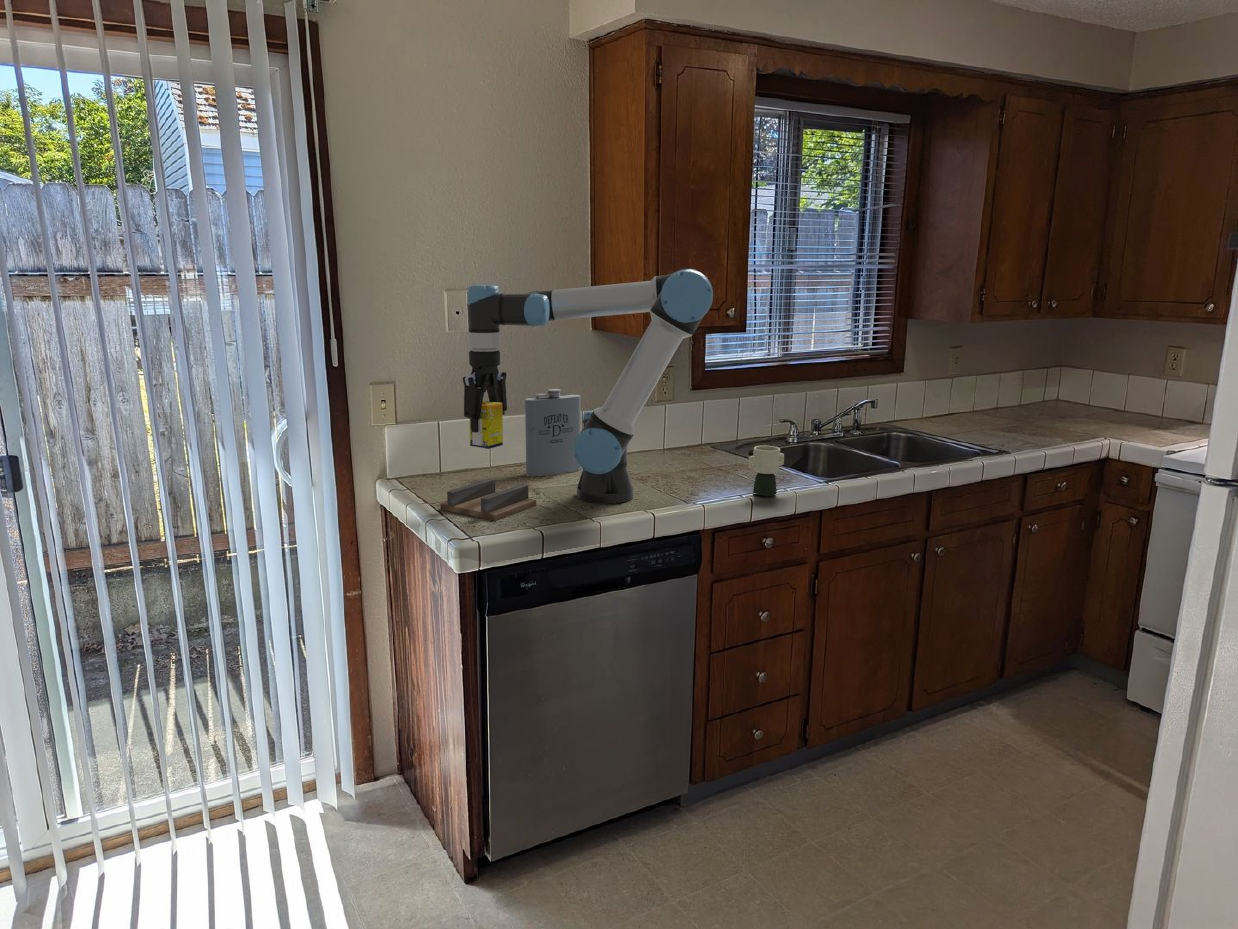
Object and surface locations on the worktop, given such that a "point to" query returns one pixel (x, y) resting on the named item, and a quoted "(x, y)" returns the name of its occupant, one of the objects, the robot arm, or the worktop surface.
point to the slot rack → (487, 500)
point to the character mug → (765, 468)
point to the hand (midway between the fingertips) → (486, 442)
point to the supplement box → (490, 425)
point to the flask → (552, 433)
